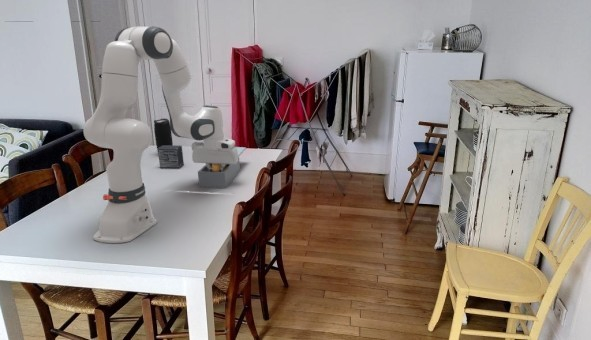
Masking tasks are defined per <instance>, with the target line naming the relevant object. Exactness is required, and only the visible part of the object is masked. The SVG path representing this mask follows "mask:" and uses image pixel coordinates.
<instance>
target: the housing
mask: <svg viewBox="0 0 591 340" xmlns="http://www.w3.org/2000/svg"><path fill="white" fill-rule="evenodd" d="M212 164H213V163H210V166H211V168H212ZM240 172H241V165H240V156H239V157H238V162H237V163H236V164H227V168H226V170H225V171H224V172H209V169H208V168H207V166H206V164H205V165H203V166H202V167H201V168H200V169H199V170H198V171H197V176H198V177H197V179H198V187H199V188H210V189H211V188H213V189H227V188H228V187H229V185H230V184H231V182H233V180H235V178H236V176H237V175H238V174H239V173H240Z"/></svg>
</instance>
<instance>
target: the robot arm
mask: <svg viewBox="0 0 591 340" xmlns="http://www.w3.org/2000/svg"><path fill="white" fill-rule="evenodd" d="M141 60H143V61H145V60H146V61H148V60H152V61H153V62H154V63H155V64H154V65H155V67H156V70H157V72H158V75H159V78H160V81H161V89H162V90H161V92H162V95H163V99H164V102H165V105H166V109H167V111H168V117H169V123H170V128H171V134H172V135H174V136H175V137H178V138H183V139H184V138H185V139H189V140H193V141H194V142H193V143H192V144H191V151H192V154H191V155H192V157H191V158H192V161H193V163H196V164H205V165H206V166H207V168H208V169H209V172H212V168H211V166H210V163H213V164H221V166H222V168H220V169H219V171H220V172H224V167H225V165H226V164H236V163H237V162H238V152H237V148H236V147H237V146H235V145H236V141H235V140H233V139H231V138H228V137H225V134H224V132H223V127H224V122H223V121H224V120H223V114H222V111H221V108H220V107H218V106H214V105H206V104H205V105H203V106H201V109H199V111H198V112H197V113H196V114H195V115H190V114H188V113H187V112H186V111H185V110H184V106H183V102H182V98H181V94H180V93H181V91H182V90H185V88H187V87H188V86H189V84H190V81H191V79H192V78H191V73H190V68H189V65H188V63H187V61H186V58H185V55H184V54H183V52H182V50H181V47H180V46H179V45H178V42H177V41H176V40H174V39H173V38H171V36H170V34H169V33H168V32H167V31H166V30H165V29H164V28H161V27H159V26H155V25H154V26H142V25H137V26H132V27H125V28H123V29H121V30H119V31H118V32H117V33H116V35H115V37H114V41H111V42H109V43H107V45H106V47H105V51H104V55H103V60H102V66H101V67H102V68H101V69H102V71H101V85H100V96H99V101H98V104H97V106H96V108H95V111H94V113H93V115H91V117H90V118H88V119H87V120H86V121H85V123H84V125H83V131H82V132H83V136H84V138H85V140H86V141H88V142H89V143H90V144H93V145H95V146H97V147H98V148H104V149H111V150H113V159H112V160H111V161H110V162H109V163H108V164H107V166H106V170H105V171H106V176H107V181H108V187H109V188H108V192H107V194H103V196H102V200H103V201H108V202H107V204H106V205H105V208H104V209H103V212H102V214H101V215H100V218H99V221H98V225H99V228H98V229H97V231H96V232H95V233H94V235H93V238H92V239H93V241H94V240H95V241H96V242H100V243H105V244H106V243H108V244H120V243H121V244H123V243H128V242H131V241H133V240H134V239H136V238H137V237H139V236H140V235H141V234H143V233H145V232H146V231H147V230H149V229H150V228H152V227H153V226H154V225H156V224H157V223H158V221H157V219H156V218H155V217H154V214H153V210H152V205H151V203H150V202H151V201H150V200H149V199H148V197H147V196H146V186H145V183H144V182H143V177H142V167H141V165H142V164H141V163H142V158H143V157H142V156H143V154H144V152H145V150H146V149H148V147H149V146H150V145H151V143H152V140H153V134H152V129H151V127H150V125H148V123H146V122H143V121H141V120H139V119H135V118H128V117H127V118H126V114H127V112H128V109H130V107H131V106H133V104H135V103H136V101H137V98H138V84H139V83H138V82H139V81H138V80H139V79H138V77H139V65H140V62H141Z"/></svg>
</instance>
